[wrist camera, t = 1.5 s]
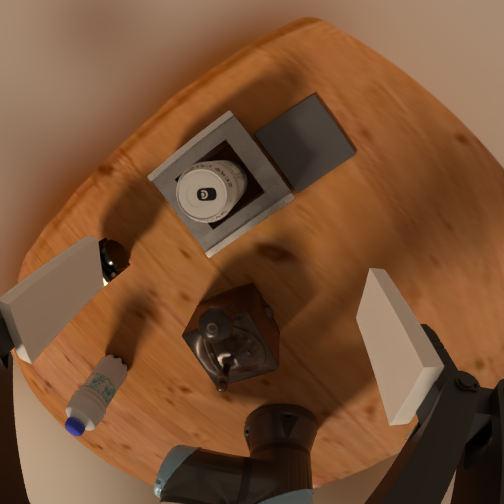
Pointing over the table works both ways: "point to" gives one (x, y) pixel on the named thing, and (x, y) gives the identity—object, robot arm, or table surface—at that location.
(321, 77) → the table surface
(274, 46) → the table surface
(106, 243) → the pneumatic valve
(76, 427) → the bottle
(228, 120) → the housing
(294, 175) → the mat
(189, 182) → the energy drink can
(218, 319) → the brown manual coffee grinder
